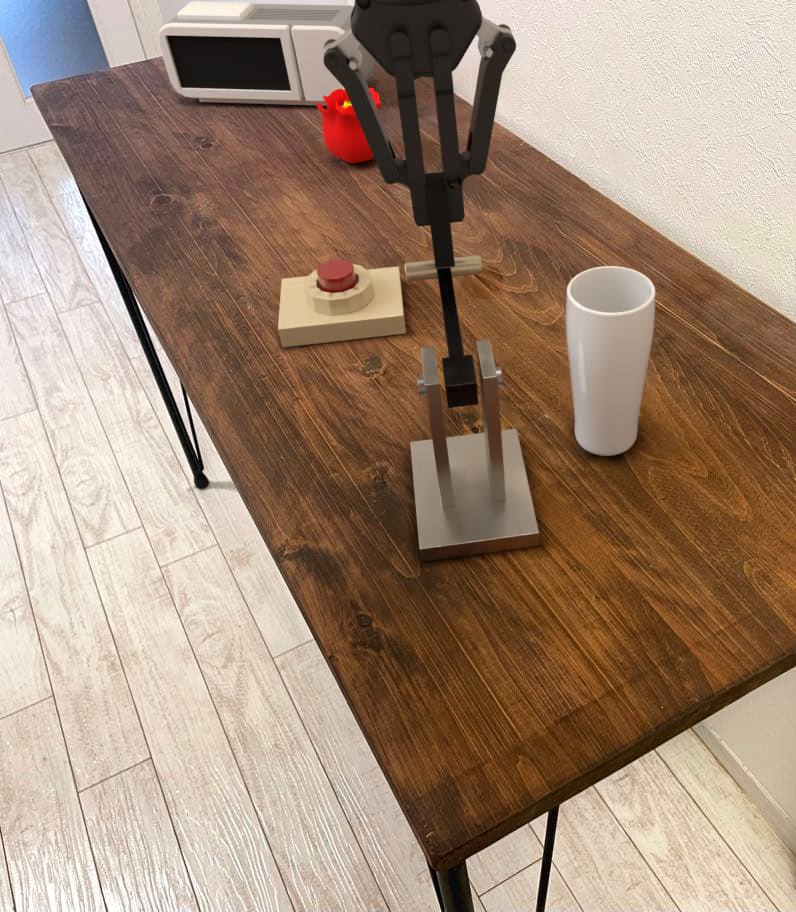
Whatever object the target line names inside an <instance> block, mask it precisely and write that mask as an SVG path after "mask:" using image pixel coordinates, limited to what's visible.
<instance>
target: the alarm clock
mask: <svg viewBox="0 0 796 912" xmlns="http://www.w3.org/2000/svg"><path fill="white" fill-rule="evenodd" d="M353 8H354V5H343V4H341V5H340V4H339V5H337V4H293V3H292V4H287V3H283V4H282V3H281V4H280V3H253V2H252V1H251V2H248V1H246V2H245V1H195V0H193V1H190V2H189V3H188V4H186V5H185V6H184V7H183V8H182V9H181V10H179V11H178V12H177V13H176V15H175V16H174V17H173V18H171V20H169V21H168V22H167V23H165V24H164V25H163V26H161V28H159V31H158V33H157V40H158V41H157V42H158V46H159V49H160V52H161V56H162V59H163V61H164V62H163V63H164V65H165V69H166V73H167V76H168V79H169V82H170V84H171V86H172V88H173V89H174V90H175V91H176V92H177V93H178V94H179V95H181V96H182V97H184V98H189V99H198V101H199V103H224V104H225V103H226V104H227V103H228V104H258V105H259V104H260V105H262V104H263V105H292V106H295V105H297V106H298V105H299V106H317V103H320V104H321V105H322V106H323V107H324V106H326V107H327V105H326V103H325V100H324V98H323V95H324V96H329V95H330V94H331V93H332V92H333V91H335V90H337V89H343V90H345V88H344V87H343V86H342V85H341V83H340V82H339V81H338V80H337V79H336V78H335V77H334V76H333V75H332V73H331V72H330V71H329V70H328V69H327V68H326V66H325V65H324V44H325V43H326V41H327V40H329V39H335V40H337V39H338V38H339V37H340V36H341V35H342V34H344V33H345V32H346V31H347V30H348V29H349V28H350V27H351V14H352V11H353ZM359 51H360V53H361V55H362V66H361V68H360V69H361V71H362V73H363V75H364V78H365V80H366V82H367V81H368V80H369V78H370V77H371V75H372V74H373V71H374V69H375V64H376V63H375V61H376V60H375V59H374V58H373V57H372V56H371V54H370V53H369V52H368V51H367V50H366V49H365V48H364V47H363V46H362V45H361V46H360V47H359Z"/></svg>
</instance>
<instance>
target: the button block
mask: <svg viewBox="0 0 796 912" xmlns="http://www.w3.org/2000/svg"><path fill="white" fill-rule="evenodd" d="M352 264H353V266H354V270H355V275H356V281H357V283H356V285H355V287H354V288H352V289H349V290H347V291H345V292H338V293H329V292H324V291H322V290H321V288H320V285H319V281H318V276H317V269H315V270H313V271H311V273H310V274H309V275H304V276H296V277H295V276H294V277H286V278H285V277H283V278H281V282H280V283H281V284H280V296H279V307H278V319H277V320H278V321H277V332H278V334H279V335H278V336H279V339H280V344H281V346H282V348H290V347H291V348H292V347H299V346H305V345H306V346H308V345H316V344H325V343H326V344H327V343H333V342H335V343H336V342H343V341H352V340H359V339H370V338H379V337H388V336H395V335H397V336H398V335H405V334H407V325H406V316H405V315H406V314H405V304H404V296H403V284H402V278H401V270H400V266H397V265H396V266H389V267H388V266H387V267H379V268H370V269H367V268H365V267H364V266H363V265H361V264H360V265H359V264H356V263H352Z"/></svg>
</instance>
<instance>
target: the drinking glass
mask: <svg viewBox="0 0 796 912" xmlns="http://www.w3.org/2000/svg"><path fill="white" fill-rule="evenodd" d="M655 318H656V286H655V285H654V283H653V281H652V280H651V279H650V278H649V277H647V275H645V274H643V273H642V272H640V271H638V270H636V269H633V268H628V267H626V266H617V265H604V266H597V267H592V268H588V269H585V270H583V271H581V272H579V273H577V274H576V275H575V276H574V277H572V278H571V279H570V281H569V282H568V283H567V286H566V300H565V339H566V350H567V358H568V368H569V377H570V378H569V379H570V386H571V396H572V406H573V407H572V408H573V416H574V419H573V420H574V422H573V423H574V430H573V431H574V436H575V440H576V442H577V444H578V445H579V446H580V448H582V449H583V450H585V451H586V452H588V453H590V454H592V455H597V456H600V457H612V456H617V455H620V454H623V453H625V452H627V451H628V450H629V449H631V448H632V447H633V446H634V443H635V442H636V441H637V438H638V430H639V419H640V413H641V409H642V407H641V406H642V402H643V395H644V390H645V384H646V379H647V373H648V369H649V363H650V357H651V352H652V346H653V340H654V330H655V321H656V320H655Z"/></svg>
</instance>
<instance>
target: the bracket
mask: <svg viewBox="0 0 796 912" xmlns="http://www.w3.org/2000/svg"><path fill="white" fill-rule="evenodd" d="M475 345H476V346H475V347H476V358H477V367H478V368H477V370H478V379H479V391H480V403H481V413H482V426H483V432H479V433H478V432H477V433H470V434H469V433H468V434H463V435H454V436H447V434H446V433H447V432H446V426H445V425H446V424H445V417H444V410H443V409H444V408H443V400H442V394H441V386H440V379H439V371H438V364H437V356H436V355H437V354H436V347H435V345H428V346H427V345H426V346H421V347H420V357H421V365H422V373H423V375H419V376H417V377H416V381H417V389H418V396H419V397H423V396H425V398H426V404H427V411H428V419H429V426H430V433H431V438H430V439H422V440H414V441H410V442H409V445H410V457H411V469H412V478H413V479H412V480H413V493H414V502H415V514H416V525H417V536H418V537H417V538H418V547H419V548H418V549H419V554H420V560H421V562H422V563H424V562H431V561H438V560H440V561H441V560H446V559H452V558H453V559H454V558H460V557H469V556H475V555H482V554H490V553H497V552H503V551H511V550H518V549H519V550H520V549H525V548H532V547H539V546H540V544H541V543H540V530H539V525H538V521H537V517H536V512H535V507H534V503H533V498H532V493H531V488H530V484H529V480H528V475H527V469H526V465H525V461H524V456H523V451H522V447H521V442H520V437H519V433H518V429H517V428H509V429H502V424H501V423H502V422H501V410H500V409H501V408H500V396H499V388H500V387H503V386H504V377H503V371H502V370H503V369H502V367H501V366H496V363H495V358H494V353H493V349H492V343H491V340H490V339H489V338H488V339H480V340H476V341H475Z"/></svg>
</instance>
